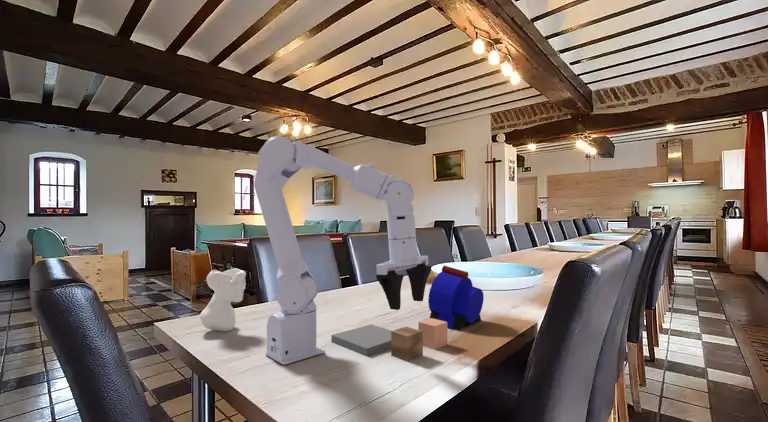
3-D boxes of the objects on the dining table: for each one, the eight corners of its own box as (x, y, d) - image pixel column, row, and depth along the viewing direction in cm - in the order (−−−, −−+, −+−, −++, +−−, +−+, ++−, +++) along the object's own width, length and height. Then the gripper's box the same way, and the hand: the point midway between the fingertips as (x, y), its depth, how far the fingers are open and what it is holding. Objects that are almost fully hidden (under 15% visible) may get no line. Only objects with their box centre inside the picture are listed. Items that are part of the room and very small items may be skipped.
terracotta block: (434, 350, 77) (434, 326, 77) (418, 344, 80) (418, 321, 80) (447, 344, 80) (447, 322, 80) (431, 340, 83) (431, 318, 83)
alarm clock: (448, 314, 105) (448, 262, 106) (488, 322, 98) (488, 266, 98) (425, 324, 96) (425, 267, 96) (468, 333, 88) (467, 271, 89)
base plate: (366, 356, 73) (366, 348, 73) (331, 341, 82) (331, 335, 82) (406, 342, 81) (406, 335, 81) (371, 330, 90) (371, 324, 90)
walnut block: (407, 362, 70) (407, 336, 70) (391, 356, 73) (391, 331, 74) (422, 356, 73) (422, 331, 73) (406, 350, 76) (406, 326, 77)
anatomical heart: (220, 323, 96) (220, 266, 97) (257, 327, 93) (257, 268, 93) (191, 334, 87) (192, 271, 87) (231, 338, 84) (232, 273, 84)
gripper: (394, 241, 67) (399, 315, 66) (438, 235, 77) (443, 299, 77) (366, 242, 71) (371, 311, 71) (411, 236, 82) (416, 296, 82)
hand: (407, 304), depth 74 cm, fingers open, 7 cm apart
